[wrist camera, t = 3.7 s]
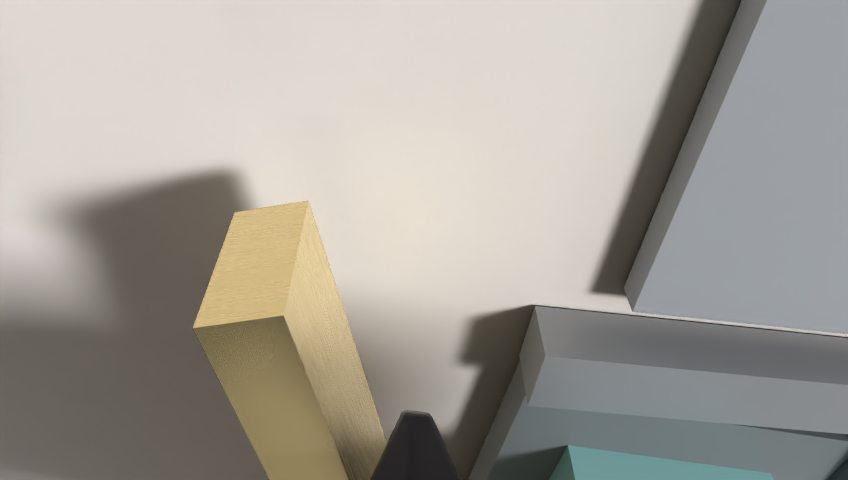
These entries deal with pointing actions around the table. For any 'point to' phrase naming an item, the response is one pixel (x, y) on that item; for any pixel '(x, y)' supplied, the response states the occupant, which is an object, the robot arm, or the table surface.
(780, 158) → the pad
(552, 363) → the socket
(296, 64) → the table surface
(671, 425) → the plug
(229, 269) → the clip
